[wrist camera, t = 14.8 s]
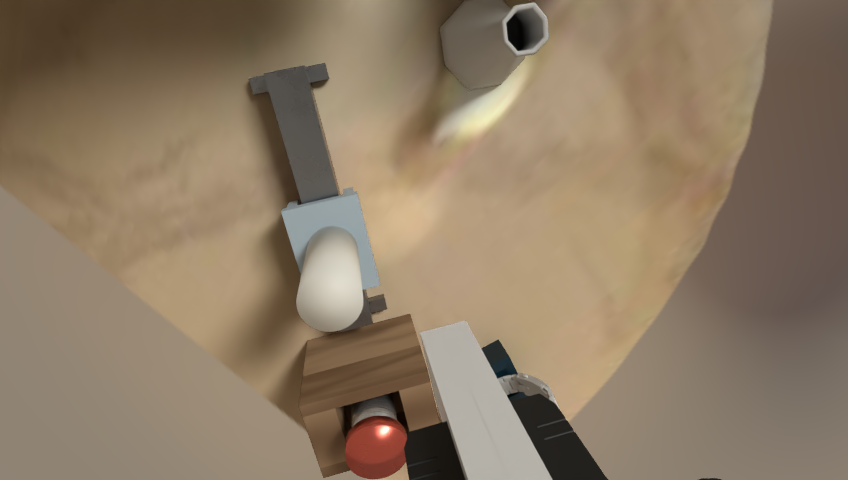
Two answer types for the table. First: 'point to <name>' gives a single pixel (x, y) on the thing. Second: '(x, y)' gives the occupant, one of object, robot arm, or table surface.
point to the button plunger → (375, 438)
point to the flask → (491, 40)
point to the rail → (307, 145)
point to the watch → (514, 375)
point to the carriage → (331, 259)
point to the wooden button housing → (362, 384)
